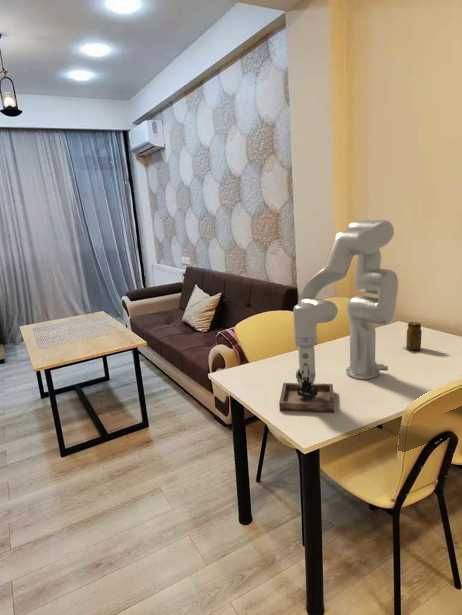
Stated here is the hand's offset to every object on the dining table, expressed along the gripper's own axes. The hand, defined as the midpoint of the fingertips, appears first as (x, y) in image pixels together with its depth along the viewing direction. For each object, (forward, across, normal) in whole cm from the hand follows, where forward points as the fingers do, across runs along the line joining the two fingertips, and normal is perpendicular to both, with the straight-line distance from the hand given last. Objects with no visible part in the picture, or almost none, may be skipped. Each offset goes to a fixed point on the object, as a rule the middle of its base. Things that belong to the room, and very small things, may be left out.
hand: (307, 386), depth 143 cm
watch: (+3, 0, 0) cm, 3 cm away
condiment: (+6, +53, -46) cm, 70 cm away
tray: (+5, 0, 0) cm, 5 cm away
